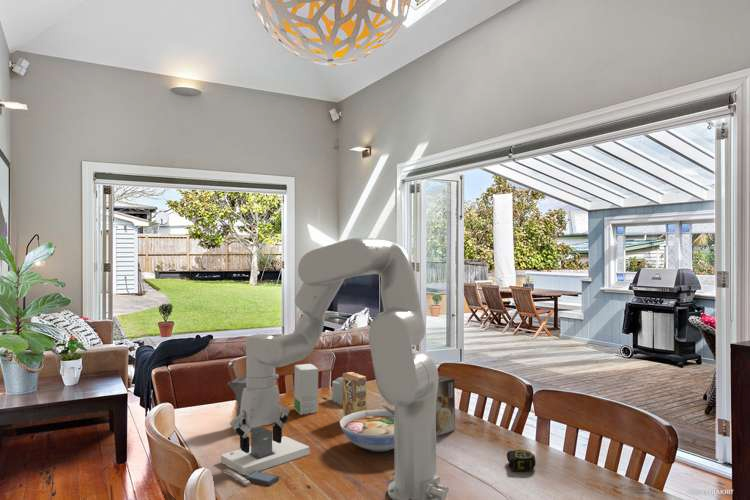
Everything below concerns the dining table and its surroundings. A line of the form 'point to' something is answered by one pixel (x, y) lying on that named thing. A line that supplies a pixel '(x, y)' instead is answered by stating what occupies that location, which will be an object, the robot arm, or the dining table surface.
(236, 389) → the coffeepot
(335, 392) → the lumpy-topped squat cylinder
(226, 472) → the grey thin stick
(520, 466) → the tape measure
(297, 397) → the skincare box
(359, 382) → the candy box
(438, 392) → the coffee box
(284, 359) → the robot arm
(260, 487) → the dining table surface
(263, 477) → the phone
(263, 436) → the block
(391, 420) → the ramen bowl
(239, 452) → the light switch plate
